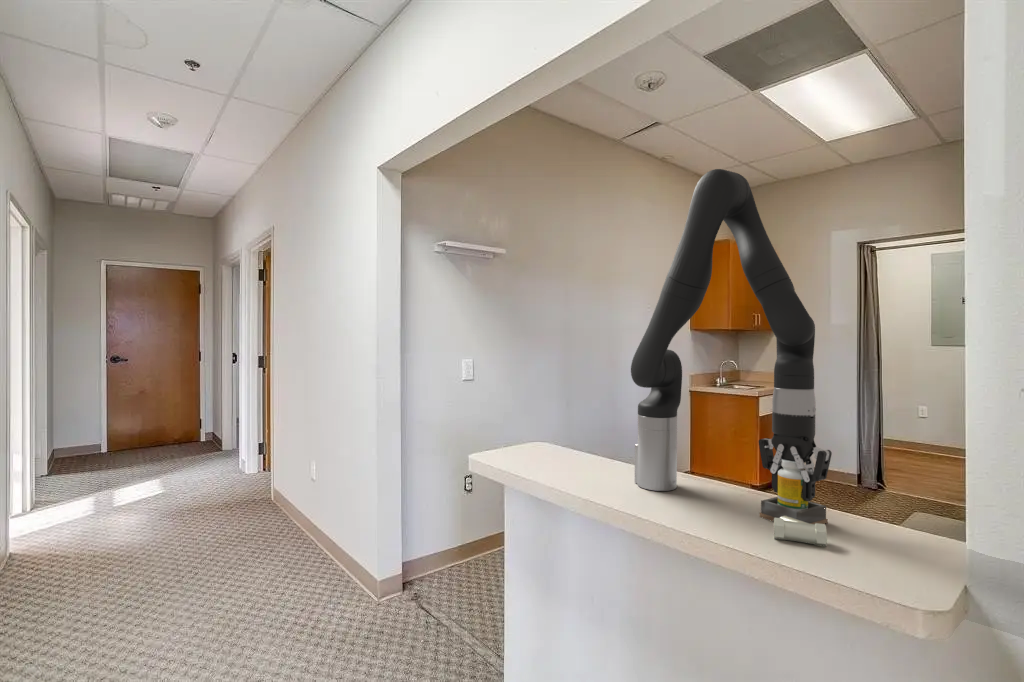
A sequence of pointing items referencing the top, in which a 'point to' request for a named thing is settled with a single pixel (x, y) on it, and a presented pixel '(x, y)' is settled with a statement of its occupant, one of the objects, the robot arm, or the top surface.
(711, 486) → the top surface
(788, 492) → the supplement bottle
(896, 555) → the top surface
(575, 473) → the top surface
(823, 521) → the square holder
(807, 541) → the pipe fitting
